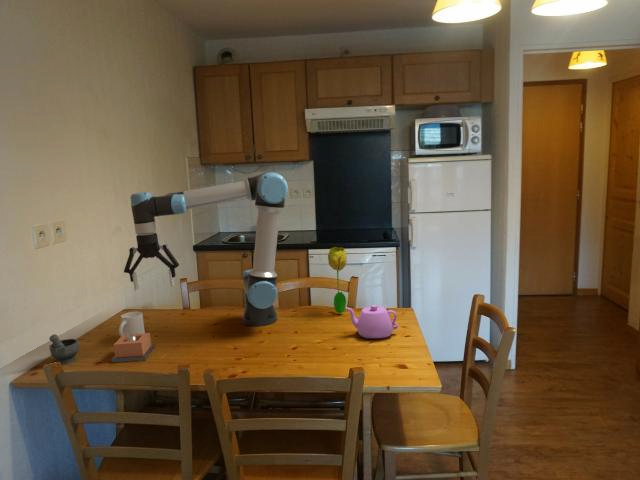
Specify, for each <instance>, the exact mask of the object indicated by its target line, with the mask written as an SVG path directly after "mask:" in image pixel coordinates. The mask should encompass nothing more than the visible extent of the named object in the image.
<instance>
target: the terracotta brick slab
mask: <svg viewBox="0 0 640 480" xmlns="http://www.w3.org/2000/svg"><path fill="white" fill-rule="evenodd" d="M129 335H136V340H137V341H128V339H127V336H129ZM151 340H152V339H151V333H150V332H145V333H142V334H128V335H123V336H122V337H120V338H118V339H117V341H116V342H114V344H113V351H114V356H115V358H118V357H131V356H143V355H144V354H145V353H146V351H147V350H148V349H149V348H150V346H151V344H152V341H151Z"/></svg>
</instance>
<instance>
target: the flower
mask: <svg viewBox="0 0 640 480" xmlns="http://www.w3.org/2000/svg"><path fill="white" fill-rule="evenodd" d="M327 258H328V259H327V261H328V265H329V266H330V268H331V269H332V270H334V271H336V279H337V281H336V282H337V293H336V294H335V295H334V297H333V307H334V310H335V312H336V313H338V314H339V315H342V313H345V311H346V308H345V307H347V306H346V305H347V304H346V303H347V298H346V296H345V294H344V293H343V291H341V292H340V290H339V288H340V287H339V285H340V284H339V283H340V282H339V272H340V271H342V270H343V269H344V268H345V267H346V265H347V263H348V260H347V258H348V257H347V249H345V248H344V247H342V246H341V247H338V246H334V247H331V248H330V249H329V250H328V253H327Z"/></svg>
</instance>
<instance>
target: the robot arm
mask: <svg viewBox="0 0 640 480" xmlns="http://www.w3.org/2000/svg"><path fill="white" fill-rule="evenodd" d="M288 192H289V187H288V182H287V181H286V179H285V178H284V176H282V175H281V174H279V173H277V172H263V173H261V174H259V175H258V174H257V175H256V176H254V175H253V176H250V177H246V178H245V179H244V180H242V181H236V182H230V183H225V184H218V185H212V186H207V187H200V188H195V189H189V190H184V191H177V192H169V193H167V194H165V195H159V196H153V195H152V193H151V192H150V191H146V192H135V193H132V194H131V195H130V205H131V206H130V207H131V211H132V212H131V214H132V219H133V225H134V232H135V235H136V236H135V238H136V245H137V247H134V246H132V247H130V248H129V250H128V251H129V254H128V257H127V260H126V264H125V266H124V269H123V273H125V274H126V273H127V274H129V278H130V282H132V283H133V287H134V289H133V290H134V291H135V292H136V291H138V290H139V289H140V288H139V287H140V286H139V280H138V275H137V272H136V269H137V267H138V266H139V265H140V263H141V262H142V260H143V259H150V258H151V259H153V258H157V259H158V260H160V262H162V263H163V264H164V265H166V267H167V268H169V269H168V270H167V271H168V277H169V284H170V287H171V288H172V287H174V286H175V280H174V278H175V277H176V268H178V267H179V266H180V263H179V262H178V260H177V259H176V257H174V255H173V253H172V252H171V250H170V249H169V246H168V244H167V243H164V244H161V245H160V244H159V236H158V234H157V226H156V218H155V217H163V216H173V215H174V216H175V215H181V214H186V212H187V210H192V209H198V208H202V207H203V208H204V207H208V206H209V207H210V206H215V205H220V204H226V203H231V202H232V203H233V202H238V201H243V200H244V201H245V200H249V201H250V202H251V201H254V206H255V208H256V209H257V211H258V212H257V221H256V229H255V230H256V231H255V240H254V241H255V242H254V253H253V262H252V268H251V269H247V270H244V271H243V272H242V279H243V288H244V289H243V291H244V302H245V306H244V310H243V313H242V323H243V324H244V325H246V326H248V327H249V326H251V327H261V326H267V325H271V324H274V323H275V322H277V321H278V313H277V310H276V308H275V305H274V304H275V302H276V301H277V298H278V289H277V282H278V274H277V273H276V271H275V266H276V263H275V262H276V254H277V244H278V235H279V226H280V224H279V222H280V214H281V212H282V211H283V210H284V209H285V202H286V197H287V196H288ZM160 250H161V251H164V254H165V255H166V256H167V258H168V259H169V260H168V259H167V258H166V257H165V256H164V255H163V254H162V253H161V252H160ZM136 253H138V254H139V256H138V257H137V259H136V260H135V262H134V263H133V260H134V257H135V254H136ZM132 263H133V265H132ZM131 266H132V267H131Z"/></svg>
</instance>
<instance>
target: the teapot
mask: <svg viewBox="0 0 640 480" xmlns="http://www.w3.org/2000/svg"><path fill="white" fill-rule="evenodd" d="M345 310H347V311H348V312H349V314H350V320H351V323H352V325H353V326H354V327H355V328H356V329H357V332H358V335H359V336H361V337H362V338H365V339H369V340H370V339H385V338H388V337H390V336H391V335H392V333H393V330H397V329H398V328H399V325H398V323H396V321H397V319H398V318H397V316H398V315H397V312H396V311H394V310H392V309H389V310H387V308H386V307H383V306H378V304H371V305H370V306H367V307H363V308H362V310H361V312H360V315H359V316H358V318H357V317H356V316H355V311H354V310H353V308H351V307H347V306H346V307H345ZM390 313H391V314H393V315H394V316H393V320H392V317H391V315H390Z"/></svg>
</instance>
